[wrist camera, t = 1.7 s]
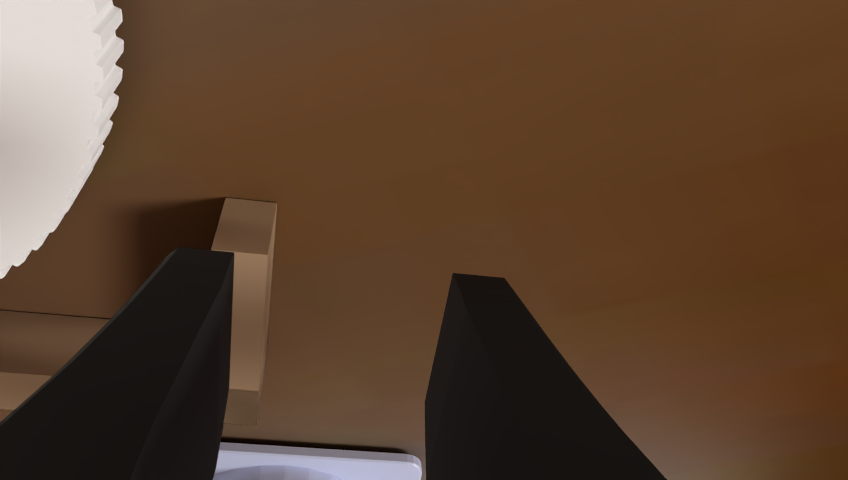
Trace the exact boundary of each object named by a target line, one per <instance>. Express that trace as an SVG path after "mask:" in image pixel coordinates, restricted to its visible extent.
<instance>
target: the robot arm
mask: <svg viewBox="0 0 848 480" xmlns="http://www.w3.org/2000/svg"><path fill="white" fill-rule="evenodd" d="M233 278H234V252H225V251H214V250H204V249H193V248H183V247H178V248H177V249H175V250H174V251H173V252H171V253H170V254H168V255H167V257H166V258H165V259H164V260H163V261H162V263H161V264H160V265H159V266H158V267H157V268H156V270H155V271H154V272H153V273H152V274H151V275H150V277H149V278H148V279H147V280H146V281H145V282H144V283H143V285H142V286H141V287H140V288H139V289H138V290H137V291H136V292H135V293H134V295H133V296H132V297H131V298H130V299H129V300H128V301H127V302H126V303H125V304H124V305H123V306H122V307H121V308H120V310H119V311H118V312H117V313H116V314H115V315H114V316H113V317H112V318H111V319H110V320H109V321H108V322H107V323H106V324H105V325H104V326H103V327H102V328H101V329H100V330H99V331H98V332H97V333H96V334H95V335H94V336H93V337H92V338H91V339H90V340H89V341H88V342H87V343H86V344H85V345H84V346H83V347H82V348H81V349H80V350H79V351H78V352H77V353H76V354H75V355H74V356H73V357H72V358H71V359H70V360H69V361H68V362H67V363H66V364H65V365H64V366H63V367H62V368H61V369H60V370H58V371H57V372H56V373H55V374H54V375H53V376H52V377H51V378H50V379H49V380H48V381H46V382H45V383H44V384H43V385H42V386H41V387H40V388H39V389H37V390H36V391H35V392H34V393H33V394H32V395H31V396H29V397H28V398H27V399H26V400H25V401H24V402H23V403H22V404H20V405H19V406H18V407H17V408H16V409H15V410H14V411H13V412H11V413H10V414H9V415H8V416H7V417H6V418H5V419H4V420H2V421H1V422H0V480H421V475H422V472H421V462H420V460H419V459H418V458H417V457H415V456H413V455H409V454H400V453H384V452H368V451H352V450H337V449H321V448H305V447H289V446H274V445H258V444H242V443H226V442H221V436H222V430H223V423H224V417H225V411H226V405H227V399H228V392H229V381H230V355H231V329H232V304H233ZM425 448H426V480H667V479H666V478H665V477H664V476H663V475H662V474H661V473H660V472H659V471H658V469H657V468H656V467H655V466H654V465H653V464H652V463H651V462H650V461H649V459H648V458H647V457H646V456H645V455H644V454H643V453H642V452H641V451H640V450H639V448H638V447H637V446H636V445H635V444H634V443H633V442H632V441H631V440H630V438H629V437H628V436H627V435H626V434H625V433H624V432H623V431H622V429H621V428H620V427H619V426H618V425H617V424H616V422H615V421H614V420H613V419H612V418H611V417H610V415H609V414H608V413H607V412H606V411H605V409H604V408H603V407H602V406H601V404H600V403H599V402H598V401H597V399H596V398H595V397H594V396H593V395H592V393H591V392H590V391H589V390H588V388H587V387H586V386H585V385H584V383H583V382H582V381H581V380H580V378H579V377H578V376H577V375H576V373H575V372H574V371H573V369H572V368H571V367H570V366H569V364H568V363H567V362H566V360H565V359H564V358H563V356H562V355H561V354H560V352H559V351H558V350H557V348H556V347H555V346H554V344H553V343H552V342H551V340H550V339H549V338H548V336H547V335H546V334H545V332H544V331H543V330H542V328H541V327H540V326H539V324H538V323H537V321H536V320H535V319H534V317H533V316H532V315H531V313H530V312H529V310H528V309H527V308H526V306H525V305H524V304H523V302H522V301H521V300H520V298H519V297H518V296H517V294H516V293H515V292H514V290H513V289H512V288H511V286H510V285H509V284H508V282H507V281H506V280H505V278H499V277H488V276H478V275H467V274H457V273H453V275H452V280H451V284H450V289H449V293H448V298H447V302H446V307H445V312H444V316H443V321H442V325H441V330H440V335H439V339H438V344H437V348H436V353H435V358H434V362H433V367H432V371H431V376H430V381H429V385H428V390H427V394H426V399H425Z"/></svg>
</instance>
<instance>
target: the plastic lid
mask: <svg viewBox="0 0 848 480" xmlns="http://www.w3.org/2000/svg"><path fill="white" fill-rule="evenodd" d="M122 21H123V20H122V10H121V9H120V8H117V7H115V6H114V5H113V2H112V0H0V279H1V278H3V277H4V276H5V275H6V274H7V272H8V271H9V269H10V267H11V266H12V265H14V266H19V265H21V264H22V263H23V262H24V261H25V260H26V258H27V257H28V255H29V253H30V252H31V250H37V249H38V248H39V247H40V246H41V245H42V244H43V243H44V241H45V239H46V238H47V236H48V234H49V233H50V232H54V230H55V229H56V228H57V226H58V225H59V223H60V222H61V220H62V218H63V217H64V215H65V213H66V212H68V210H69V209H70V207H71V205H72V204H73V202H74V200H75V199H76V197H77V195H78V194H79V192H80V190H81V189H82V187H83V185H84V183H85V182H86V180H87V178H88V177H89V175H90V173H91V172H92V170H93V167H94V165H95V163H96V161H97V160H98V158H99V156H100V155H101V153H102V151H103V148H104V145H103V142H104V141H105V139H106V137H107V136H108V134H109V132H110V130H111V127H112V124H113V122H112V121H111V120H109V119H110V117H111V116H112V114H113V112H114V111H115V109H116V108H117V105H118V100H119V96H117V95H116V94H114V93H113V92H114V91H115V89H116V88H117V86H118V85H119V83H120V82H121V80H122V72H123V70H122V68H120V67H118V66H116V64H115V63H116V61H117V60H118V59H119V57H120V56H121V54H122V53H123V51H124V41H123V40H122V39H121V38H118V37H117V36H116V34H115V31H116V29H117V28H118V27H119V25H120V24H121V23H122Z"/></svg>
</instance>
